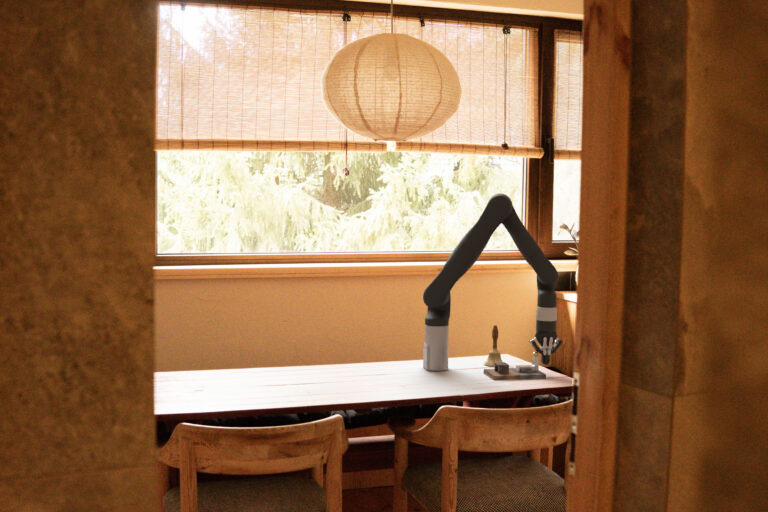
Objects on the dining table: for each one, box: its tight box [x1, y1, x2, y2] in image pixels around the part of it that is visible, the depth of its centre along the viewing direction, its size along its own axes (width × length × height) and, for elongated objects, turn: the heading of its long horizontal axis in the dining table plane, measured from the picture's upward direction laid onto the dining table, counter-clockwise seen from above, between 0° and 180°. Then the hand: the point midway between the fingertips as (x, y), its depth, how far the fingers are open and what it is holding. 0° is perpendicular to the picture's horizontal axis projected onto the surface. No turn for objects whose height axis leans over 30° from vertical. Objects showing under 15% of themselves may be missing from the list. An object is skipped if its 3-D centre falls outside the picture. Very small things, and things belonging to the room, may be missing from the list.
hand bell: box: [483, 324, 503, 368], centre depth 283 cm, size 8×8×16 cm
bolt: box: [515, 351, 540, 372], centre depth 264 cm, size 8×2×7 cm, turn 100°
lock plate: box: [483, 361, 547, 381], centre depth 263 cm, size 20×12×5 cm, turn 100°
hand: (545, 364), depth 266 cm, fingers closed
